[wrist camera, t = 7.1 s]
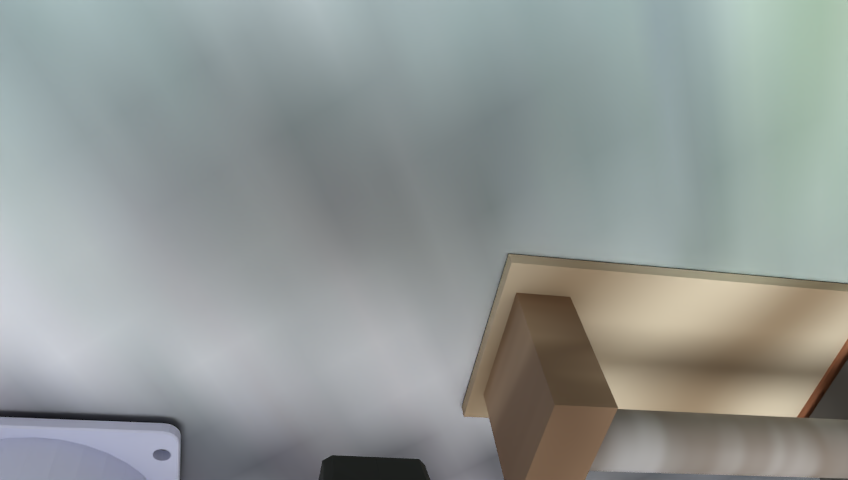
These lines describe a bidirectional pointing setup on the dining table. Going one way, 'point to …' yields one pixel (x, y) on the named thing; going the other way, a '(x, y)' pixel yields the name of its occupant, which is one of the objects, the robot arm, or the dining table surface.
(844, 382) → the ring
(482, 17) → the dining table surface
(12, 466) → the robot arm
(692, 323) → the rail
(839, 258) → the dining table surface
